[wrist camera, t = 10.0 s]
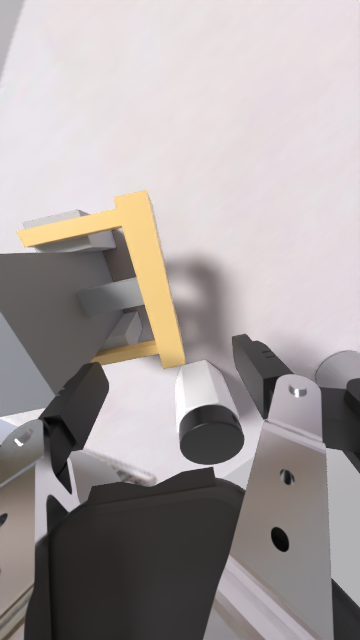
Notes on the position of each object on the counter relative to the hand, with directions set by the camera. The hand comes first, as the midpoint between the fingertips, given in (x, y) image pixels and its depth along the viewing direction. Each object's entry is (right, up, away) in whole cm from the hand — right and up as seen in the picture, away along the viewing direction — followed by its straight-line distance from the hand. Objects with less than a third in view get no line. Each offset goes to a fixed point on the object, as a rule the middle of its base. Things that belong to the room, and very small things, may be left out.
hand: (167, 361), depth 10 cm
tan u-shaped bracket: (-6, +5, +7) cm, 11 cm away
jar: (+4, -8, +22) cm, 24 cm away
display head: (-8, +8, +15) cm, 18 cm away
